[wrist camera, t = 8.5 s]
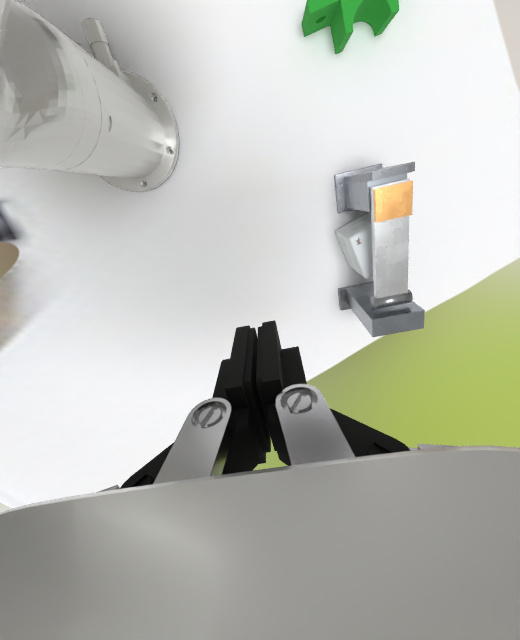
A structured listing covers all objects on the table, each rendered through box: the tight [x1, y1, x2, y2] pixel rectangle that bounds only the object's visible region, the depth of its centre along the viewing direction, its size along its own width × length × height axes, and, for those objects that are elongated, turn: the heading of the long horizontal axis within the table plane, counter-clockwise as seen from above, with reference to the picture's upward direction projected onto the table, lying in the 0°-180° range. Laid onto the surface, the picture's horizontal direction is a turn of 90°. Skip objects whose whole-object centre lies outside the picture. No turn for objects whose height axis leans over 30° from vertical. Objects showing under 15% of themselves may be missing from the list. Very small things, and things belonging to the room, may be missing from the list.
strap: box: [370, 179, 413, 309], centre depth 30 cm, size 14×4×2 cm, turn 12°
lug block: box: [334, 162, 415, 213], centre depth 32 cm, size 5×6×11 cm
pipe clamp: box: [302, 0, 399, 54], centre depth 28 cm, size 11×4×5 cm, turn 109°
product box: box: [335, 212, 410, 279], centre depth 36 cm, size 6×6×7 cm
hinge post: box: [338, 282, 425, 337], centre depth 38 cm, size 4×8×12 cm, turn 102°
